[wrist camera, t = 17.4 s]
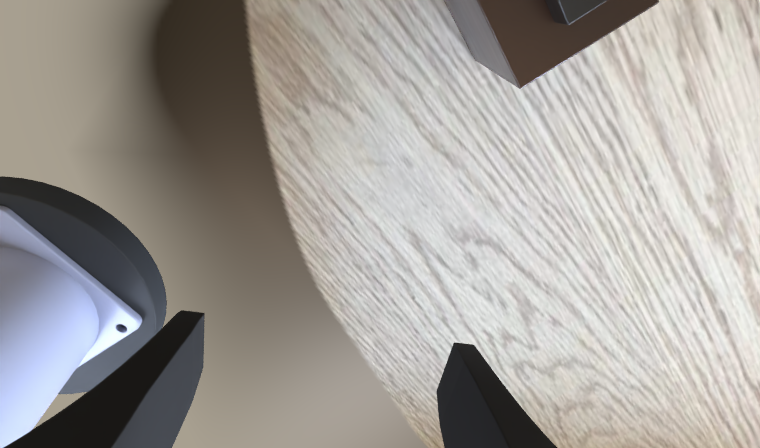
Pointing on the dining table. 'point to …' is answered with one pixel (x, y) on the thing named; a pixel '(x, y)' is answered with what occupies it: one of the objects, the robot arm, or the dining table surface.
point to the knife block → (536, 31)
